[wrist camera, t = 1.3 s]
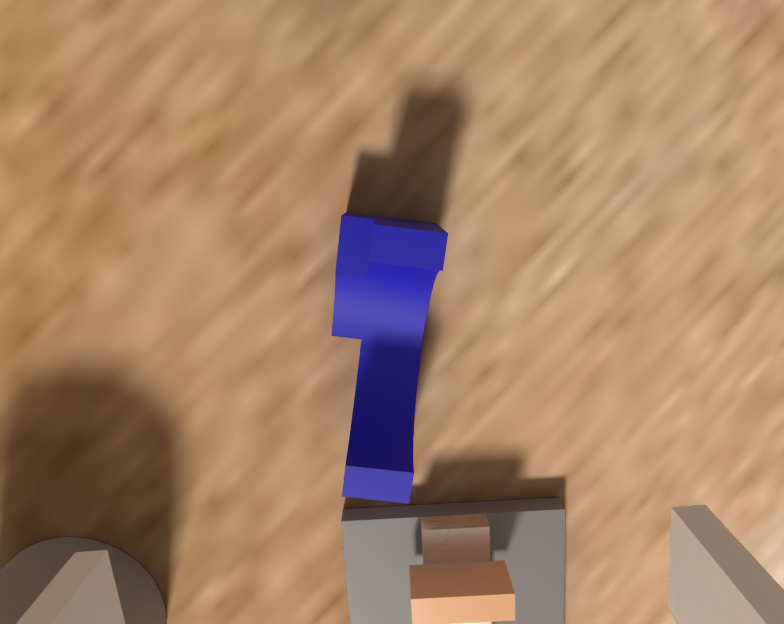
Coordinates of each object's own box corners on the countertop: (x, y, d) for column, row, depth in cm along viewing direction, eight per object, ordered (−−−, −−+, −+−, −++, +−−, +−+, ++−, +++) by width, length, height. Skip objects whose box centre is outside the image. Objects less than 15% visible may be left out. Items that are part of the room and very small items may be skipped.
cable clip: (346, 212, 28) (335, 219, 22) (435, 223, 28) (447, 233, 23) (323, 434, 31) (308, 492, 25) (405, 443, 31) (409, 503, 25)
